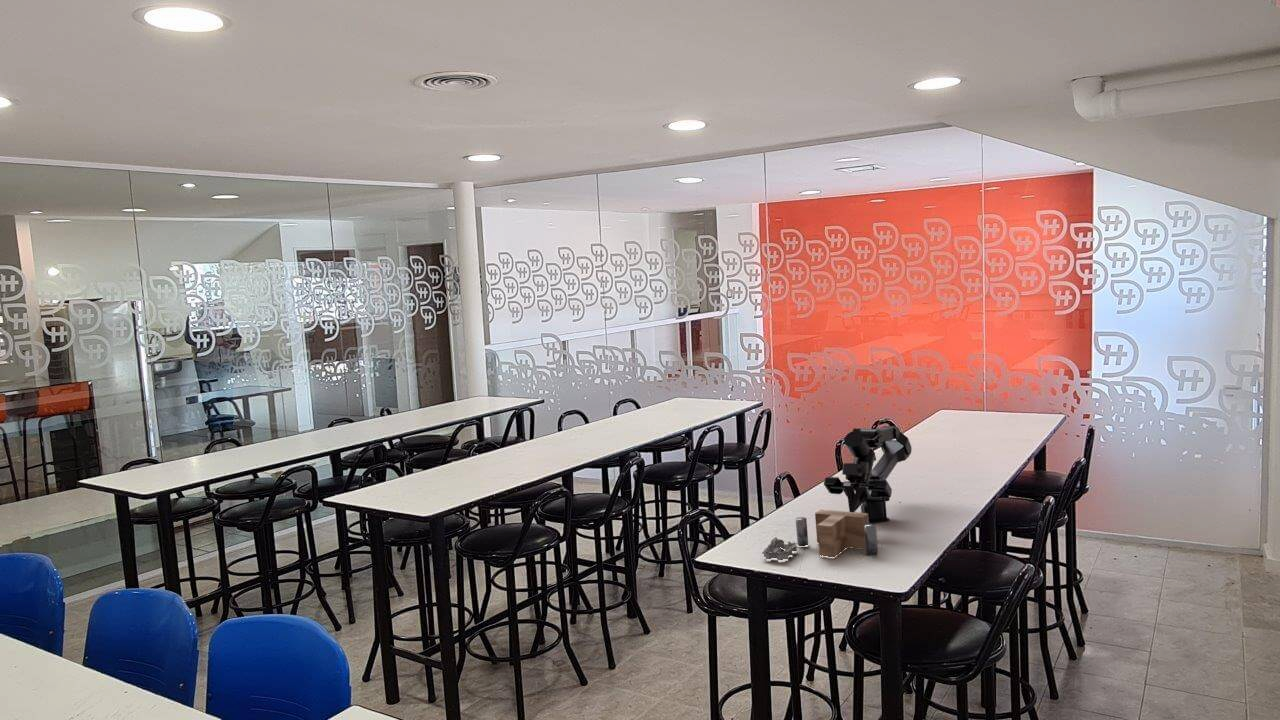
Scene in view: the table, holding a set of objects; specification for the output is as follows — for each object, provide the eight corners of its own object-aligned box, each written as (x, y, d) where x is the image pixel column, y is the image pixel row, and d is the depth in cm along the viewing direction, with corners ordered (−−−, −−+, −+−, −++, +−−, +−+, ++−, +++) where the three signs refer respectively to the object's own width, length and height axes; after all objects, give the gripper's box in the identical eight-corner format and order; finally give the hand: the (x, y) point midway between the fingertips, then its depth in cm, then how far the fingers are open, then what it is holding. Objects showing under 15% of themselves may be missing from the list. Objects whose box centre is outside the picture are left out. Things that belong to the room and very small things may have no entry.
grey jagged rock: (776, 550, 240) (775, 535, 240) (801, 552, 236) (800, 538, 236) (759, 562, 232) (758, 547, 231) (785, 564, 227) (784, 550, 227)
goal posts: (800, 544, 242) (798, 516, 242) (879, 552, 229) (877, 523, 228) (796, 547, 240) (793, 519, 239) (875, 556, 227) (873, 527, 226)
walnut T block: (823, 540, 244) (820, 509, 243) (870, 545, 236) (868, 513, 235) (802, 555, 233) (800, 523, 232) (851, 561, 225) (849, 528, 224)
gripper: (823, 450, 252) (811, 496, 244) (885, 452, 241) (874, 500, 233) (835, 469, 259) (824, 515, 251) (896, 473, 248) (886, 520, 240)
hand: (851, 512), depth 244 cm, fingers closed
